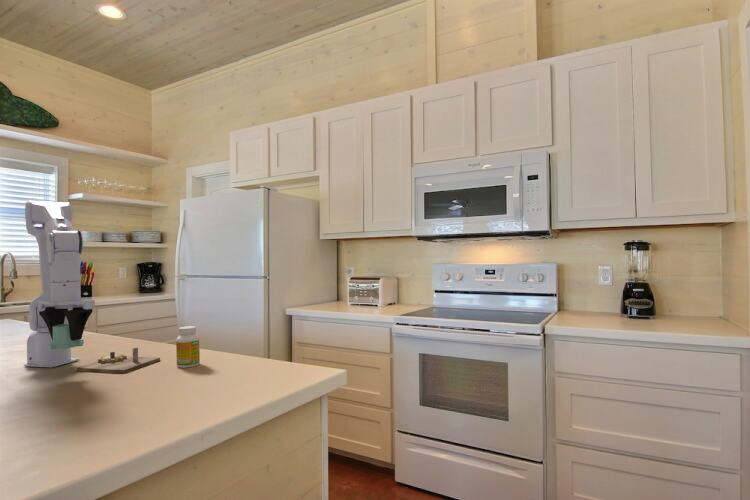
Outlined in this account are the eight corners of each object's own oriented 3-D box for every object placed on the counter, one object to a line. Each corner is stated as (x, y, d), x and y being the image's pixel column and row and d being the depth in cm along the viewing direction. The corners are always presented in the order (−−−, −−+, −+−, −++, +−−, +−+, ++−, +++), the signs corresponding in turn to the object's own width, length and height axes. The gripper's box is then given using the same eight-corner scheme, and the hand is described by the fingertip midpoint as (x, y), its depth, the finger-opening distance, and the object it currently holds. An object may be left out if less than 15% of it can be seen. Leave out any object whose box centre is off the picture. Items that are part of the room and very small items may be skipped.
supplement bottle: (194, 368, 105) (193, 329, 105) (172, 368, 105) (171, 329, 105) (203, 362, 110) (202, 325, 110) (182, 362, 110) (182, 325, 110)
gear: (40, 349, 97) (40, 327, 97) (68, 342, 103) (68, 322, 103) (64, 350, 95) (64, 327, 95) (91, 343, 102) (91, 322, 102)
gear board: (76, 370, 105) (76, 353, 105) (116, 358, 116) (116, 343, 116) (123, 373, 101) (123, 355, 101) (160, 360, 113) (159, 344, 113)
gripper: (23, 283, 97) (24, 342, 97) (74, 282, 94) (75, 344, 94) (53, 280, 104) (54, 336, 104) (102, 280, 100) (103, 337, 100)
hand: (66, 339), depth 99 cm, fingers closed on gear, 5 cm apart
